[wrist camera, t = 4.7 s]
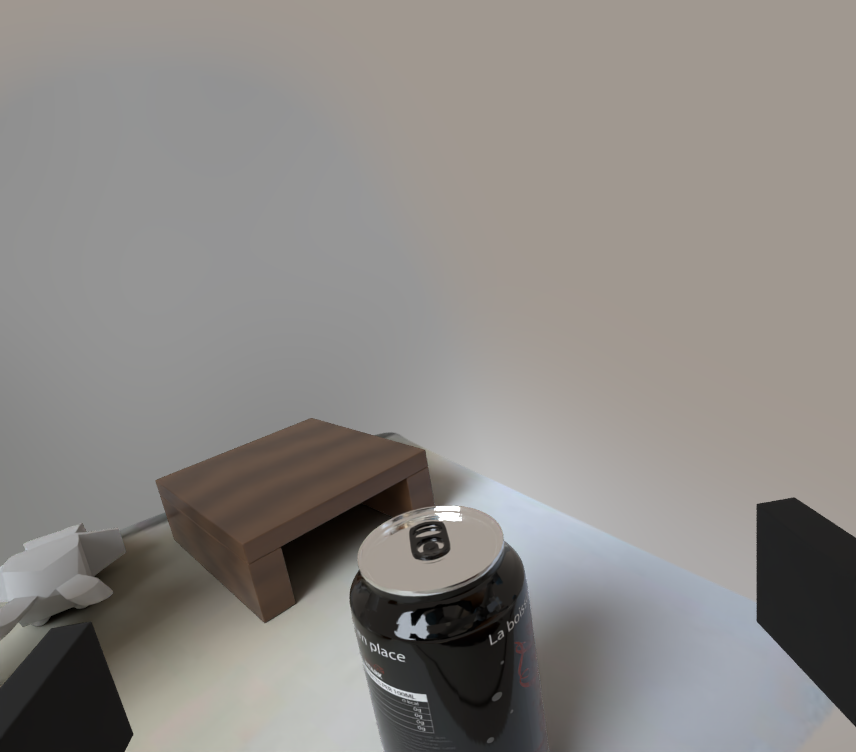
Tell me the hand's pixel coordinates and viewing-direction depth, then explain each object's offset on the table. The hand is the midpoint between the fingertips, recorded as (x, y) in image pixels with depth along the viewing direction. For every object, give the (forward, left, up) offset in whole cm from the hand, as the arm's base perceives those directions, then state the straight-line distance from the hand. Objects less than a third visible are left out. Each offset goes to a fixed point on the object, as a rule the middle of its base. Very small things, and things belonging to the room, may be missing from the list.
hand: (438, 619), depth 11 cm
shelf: (+34, -13, -16) cm, 40 cm away
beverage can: (+7, -6, -16) cm, 19 cm away
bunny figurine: (+41, +4, -16) cm, 45 cm away
